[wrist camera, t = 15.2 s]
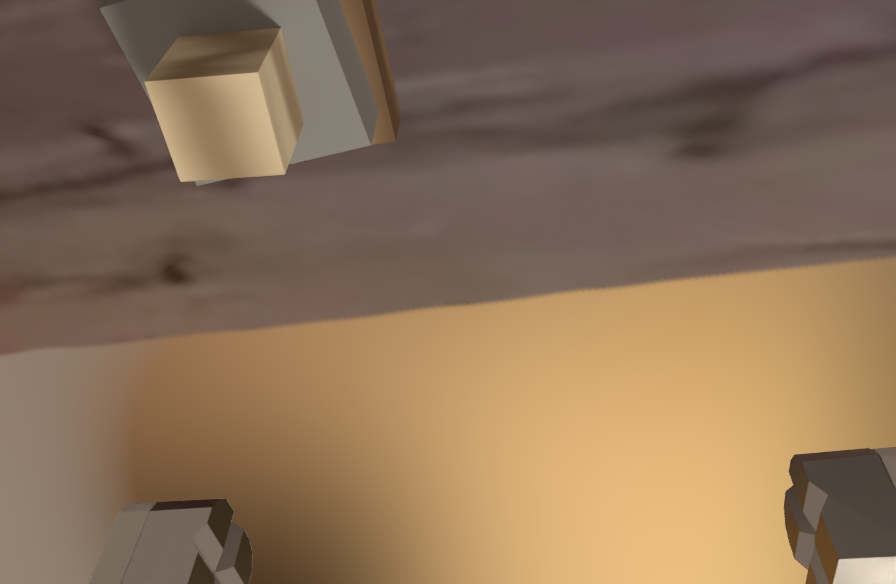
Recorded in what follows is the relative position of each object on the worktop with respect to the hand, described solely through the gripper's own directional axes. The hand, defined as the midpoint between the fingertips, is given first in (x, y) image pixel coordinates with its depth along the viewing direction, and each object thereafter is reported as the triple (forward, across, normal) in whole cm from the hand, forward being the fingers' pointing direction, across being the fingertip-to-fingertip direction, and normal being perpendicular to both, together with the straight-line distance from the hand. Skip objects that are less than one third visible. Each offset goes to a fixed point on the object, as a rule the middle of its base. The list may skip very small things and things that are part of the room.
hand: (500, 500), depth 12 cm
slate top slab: (+34, +13, +5) cm, 36 cm away
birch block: (+30, +13, +5) cm, 33 cm away
